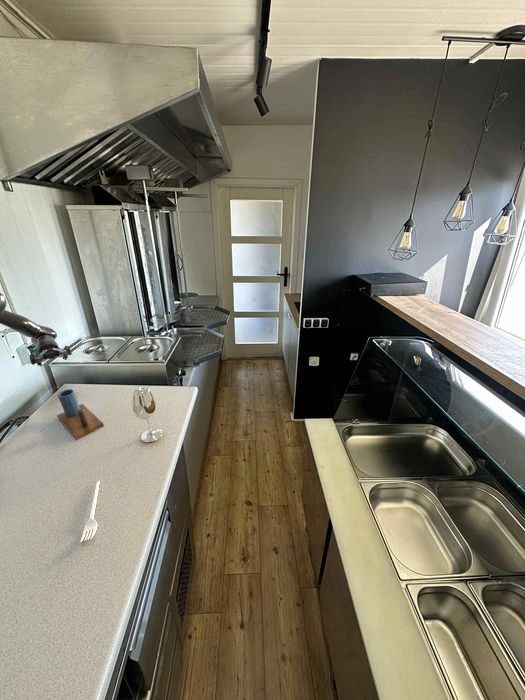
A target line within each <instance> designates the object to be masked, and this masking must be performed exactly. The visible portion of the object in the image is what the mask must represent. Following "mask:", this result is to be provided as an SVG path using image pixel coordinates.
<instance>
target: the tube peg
mask: <svg viewBox="0 0 525 700" xmlns="http://www.w3.org/2000/svg"><path fill="white" fill-rule="evenodd" d="M57 397H58V399H59V402H60V405H61V407H62V410H63V412H65V415H66V417H74V416H76V415H78V413H77V411H78V410H81V409H80V406H79V405H80V404H79V401H78V398H77V395H76V392H75V390H74V389H71V388H69V389H64V390H62V391H60V392H59V393H58V394H57Z"/></svg>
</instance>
